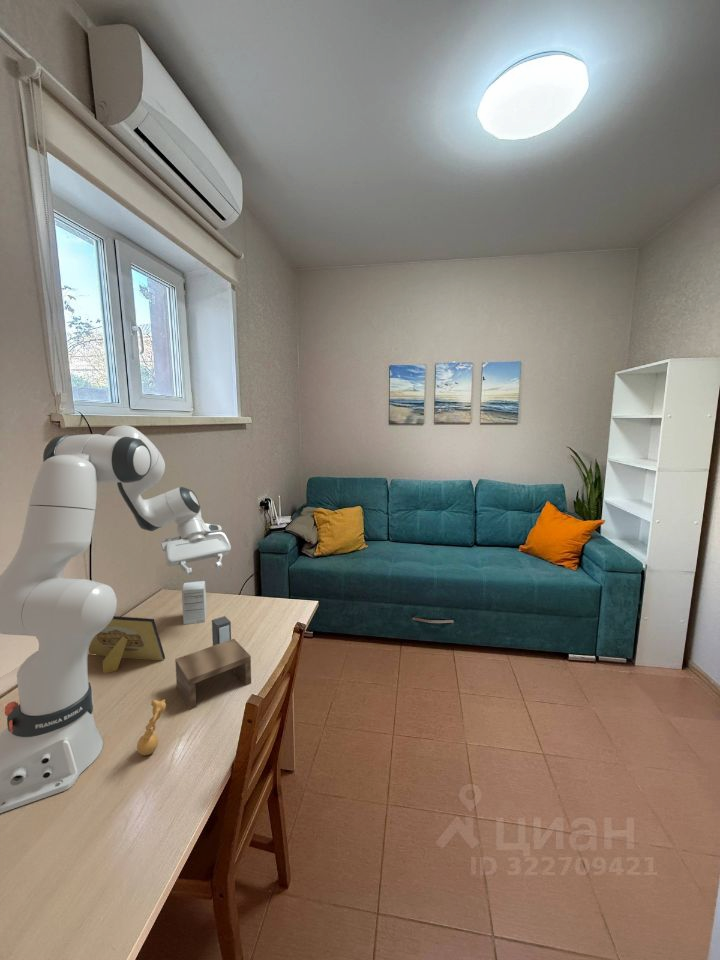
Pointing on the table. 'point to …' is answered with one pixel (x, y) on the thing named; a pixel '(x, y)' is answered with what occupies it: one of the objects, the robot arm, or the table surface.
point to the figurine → (151, 730)
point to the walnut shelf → (211, 667)
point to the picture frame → (127, 641)
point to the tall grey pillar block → (221, 630)
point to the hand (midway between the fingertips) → (204, 570)
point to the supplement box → (194, 602)
